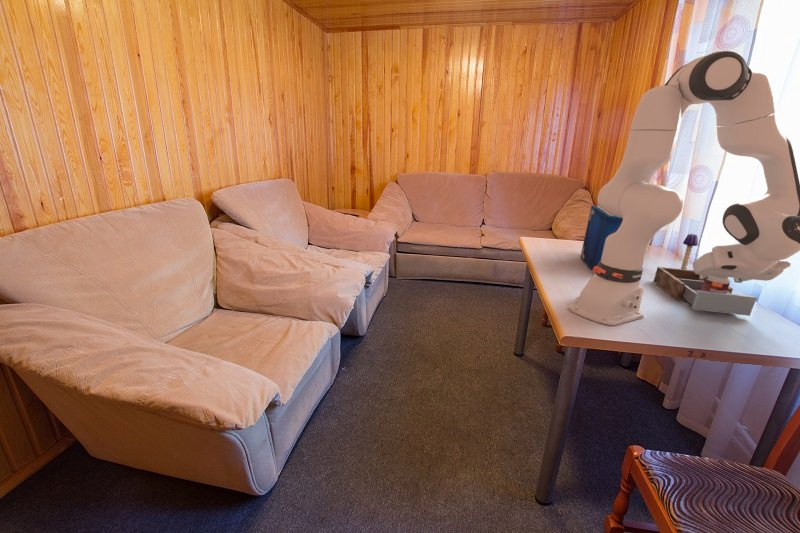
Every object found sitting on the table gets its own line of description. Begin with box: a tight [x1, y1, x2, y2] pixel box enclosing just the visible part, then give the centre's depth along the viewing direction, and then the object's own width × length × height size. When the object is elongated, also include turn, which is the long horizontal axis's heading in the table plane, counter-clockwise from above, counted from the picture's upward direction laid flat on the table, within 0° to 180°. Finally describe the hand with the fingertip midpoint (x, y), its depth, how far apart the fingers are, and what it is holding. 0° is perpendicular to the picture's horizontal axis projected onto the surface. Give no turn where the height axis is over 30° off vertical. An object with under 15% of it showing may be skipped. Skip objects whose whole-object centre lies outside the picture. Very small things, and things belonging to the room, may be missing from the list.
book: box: [579, 204, 623, 272], centre depth 149 cm, size 22×7×25 cm, turn 168°
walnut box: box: [653, 266, 734, 302], centre depth 129 cm, size 18×15×6 cm
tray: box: [677, 278, 757, 317], centre depth 119 cm, size 19×15×6 cm
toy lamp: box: [680, 233, 699, 270], centre depth 146 cm, size 5×5×17 cm
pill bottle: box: [701, 275, 731, 293], centre depth 115 cm, size 6×6×11 cm
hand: (719, 279), depth 114 cm, fingers open, 8 cm apart
